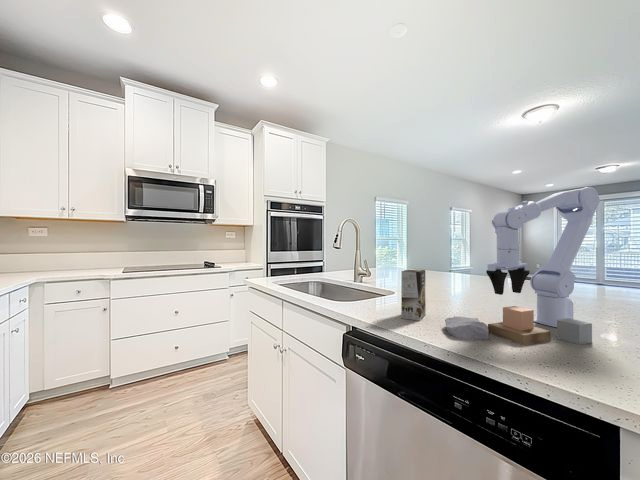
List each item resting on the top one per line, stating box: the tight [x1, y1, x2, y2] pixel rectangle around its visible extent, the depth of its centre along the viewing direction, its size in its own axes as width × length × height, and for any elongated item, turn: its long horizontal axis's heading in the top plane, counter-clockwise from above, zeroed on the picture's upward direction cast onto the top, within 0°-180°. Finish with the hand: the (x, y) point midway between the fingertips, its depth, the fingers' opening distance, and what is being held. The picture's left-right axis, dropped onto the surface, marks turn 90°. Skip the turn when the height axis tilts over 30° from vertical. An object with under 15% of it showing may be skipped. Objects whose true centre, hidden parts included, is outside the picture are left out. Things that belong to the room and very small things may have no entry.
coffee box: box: [400, 269, 427, 322], centre depth 96 cm, size 9×6×16 cm
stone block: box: [444, 315, 490, 341], centre depth 80 cm, size 12×5×10 cm
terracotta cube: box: [502, 305, 535, 331], centre depth 77 cm, size 5×5×5 cm
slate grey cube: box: [556, 318, 593, 345], centre depth 73 cm, size 5×5×5 cm
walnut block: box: [487, 321, 552, 346], centre depth 76 cm, size 10×10×3 cm
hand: (507, 293), depth 86 cm, fingers open, 7 cm apart
